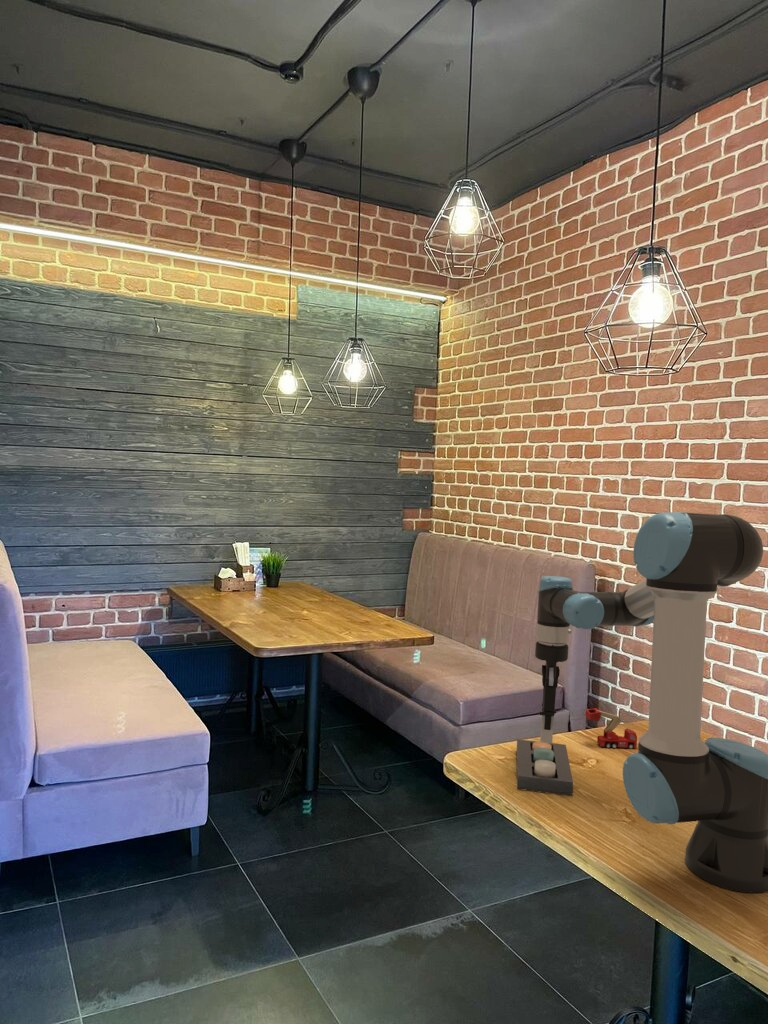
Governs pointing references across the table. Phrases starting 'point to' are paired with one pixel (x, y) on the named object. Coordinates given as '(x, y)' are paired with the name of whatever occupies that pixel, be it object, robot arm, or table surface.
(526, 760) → the panel
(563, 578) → the robot arm
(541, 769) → the button ivory
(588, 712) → the toy fire truck
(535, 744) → the button terracotta
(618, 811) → the table surface
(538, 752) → the button teal
